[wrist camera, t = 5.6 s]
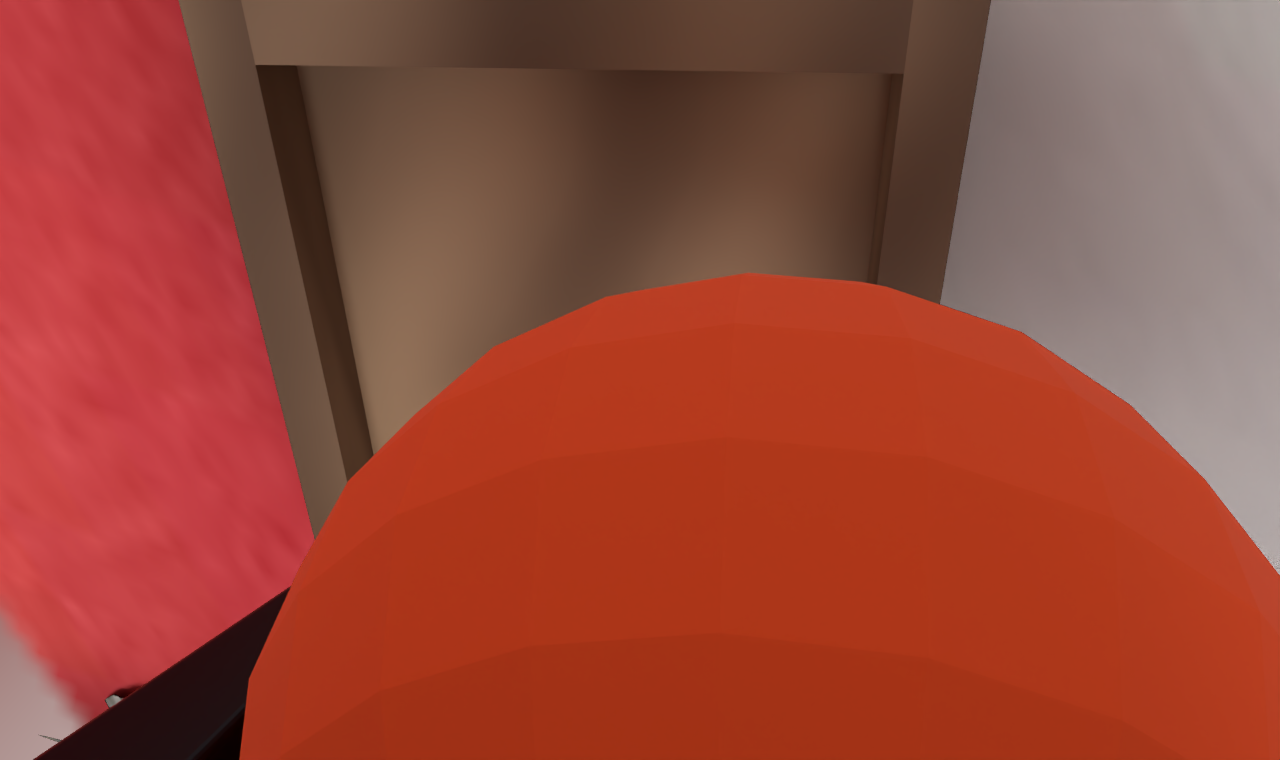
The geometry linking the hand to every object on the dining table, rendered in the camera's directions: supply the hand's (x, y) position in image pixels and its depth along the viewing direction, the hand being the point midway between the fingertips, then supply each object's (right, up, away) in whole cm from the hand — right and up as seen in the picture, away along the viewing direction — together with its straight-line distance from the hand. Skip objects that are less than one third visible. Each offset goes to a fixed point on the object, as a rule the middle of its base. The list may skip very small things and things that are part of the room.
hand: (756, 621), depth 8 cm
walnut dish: (-2, +4, +12) cm, 13 cm away
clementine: (0, +1, +1) cm, 2 cm away
